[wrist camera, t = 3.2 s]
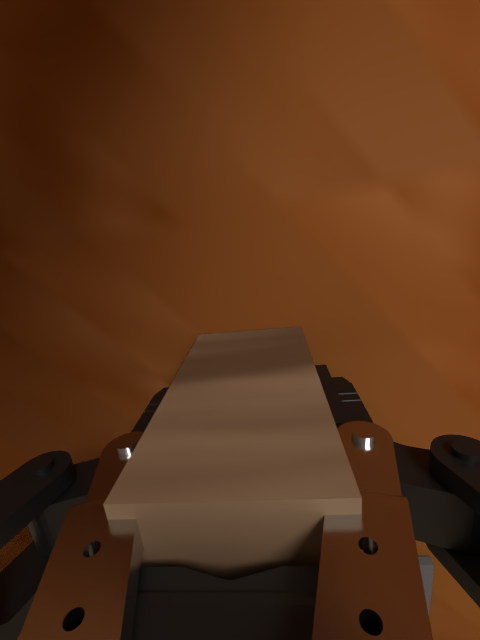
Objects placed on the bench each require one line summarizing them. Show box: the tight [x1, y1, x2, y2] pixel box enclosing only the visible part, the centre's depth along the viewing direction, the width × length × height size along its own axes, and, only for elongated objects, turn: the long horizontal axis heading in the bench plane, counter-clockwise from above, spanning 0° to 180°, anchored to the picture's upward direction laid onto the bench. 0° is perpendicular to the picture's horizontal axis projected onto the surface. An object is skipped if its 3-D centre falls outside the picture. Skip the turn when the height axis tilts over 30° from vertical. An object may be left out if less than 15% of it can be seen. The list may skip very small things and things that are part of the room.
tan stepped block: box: [103, 327, 362, 580], centre depth 10 cm, size 11×4×8 cm, turn 6°
